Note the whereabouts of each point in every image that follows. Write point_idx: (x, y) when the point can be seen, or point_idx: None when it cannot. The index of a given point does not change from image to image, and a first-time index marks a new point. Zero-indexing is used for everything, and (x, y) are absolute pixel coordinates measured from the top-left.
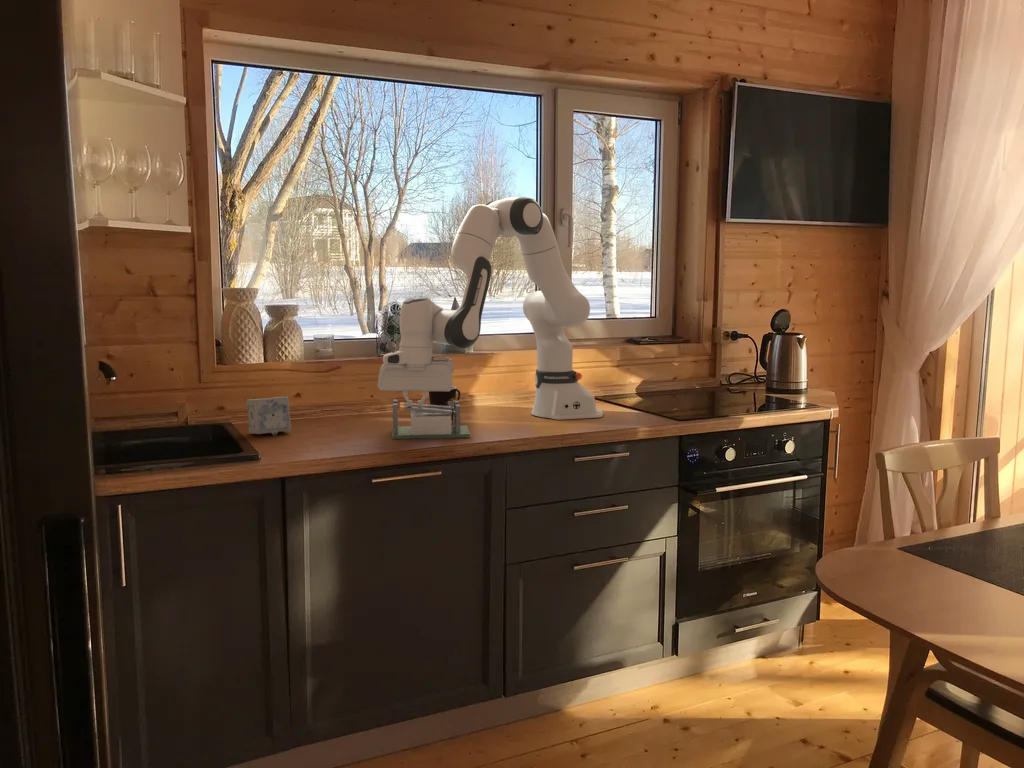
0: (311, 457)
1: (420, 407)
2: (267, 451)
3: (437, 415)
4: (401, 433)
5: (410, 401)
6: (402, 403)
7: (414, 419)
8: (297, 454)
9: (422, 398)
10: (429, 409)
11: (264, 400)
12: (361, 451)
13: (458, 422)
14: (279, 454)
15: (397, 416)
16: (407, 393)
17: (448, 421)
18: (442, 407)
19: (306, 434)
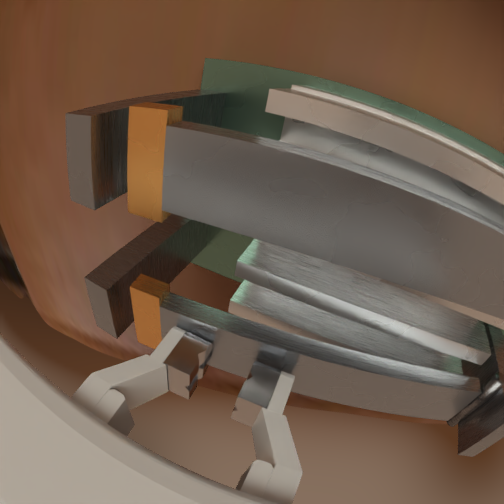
0: (68, 317)
1: (279, 358)
2: (12, 244)
3: None
4: (223, 243)
5: (178, 392)
6: (146, 173)
7: None
8: (46, 287)
9: (256, 446)
10: (326, 400)
11: None
12: (127, 333)
13: None
14: (29, 272)
15: (161, 254)
16: (127, 429)
17: None
18: (499, 315)
19: (11, 107)
